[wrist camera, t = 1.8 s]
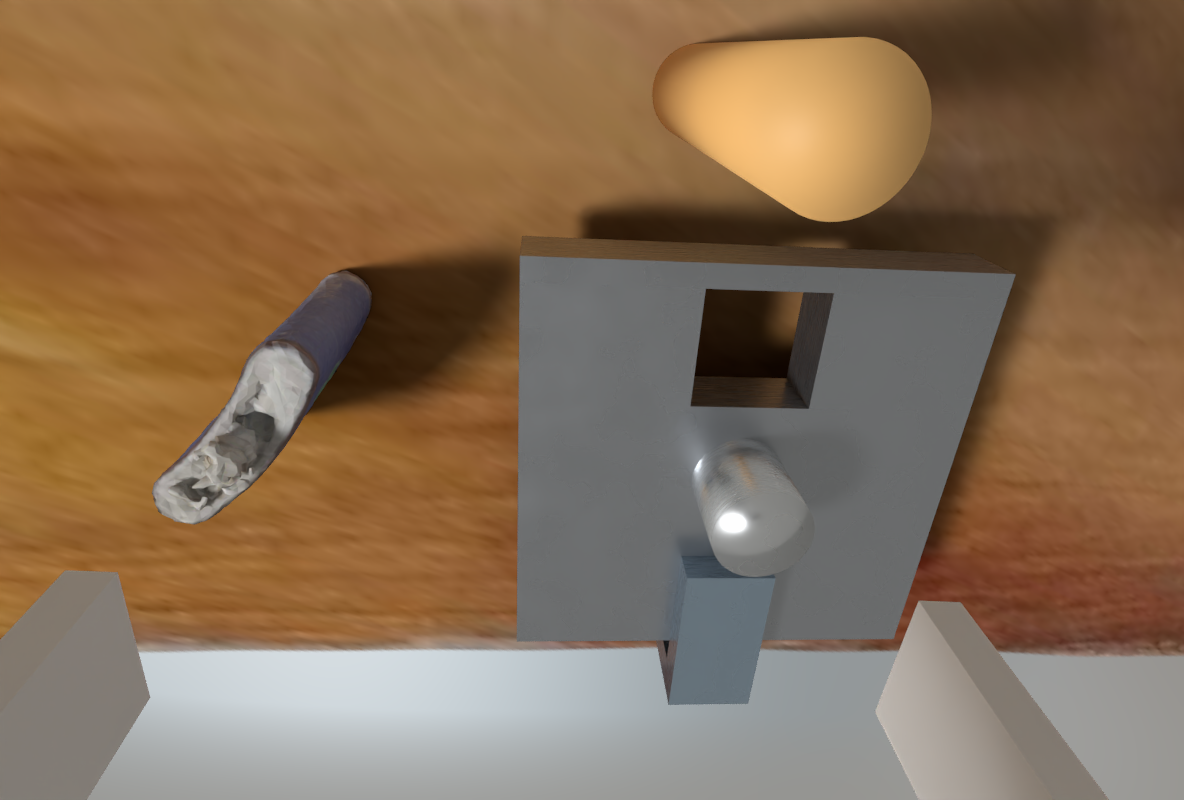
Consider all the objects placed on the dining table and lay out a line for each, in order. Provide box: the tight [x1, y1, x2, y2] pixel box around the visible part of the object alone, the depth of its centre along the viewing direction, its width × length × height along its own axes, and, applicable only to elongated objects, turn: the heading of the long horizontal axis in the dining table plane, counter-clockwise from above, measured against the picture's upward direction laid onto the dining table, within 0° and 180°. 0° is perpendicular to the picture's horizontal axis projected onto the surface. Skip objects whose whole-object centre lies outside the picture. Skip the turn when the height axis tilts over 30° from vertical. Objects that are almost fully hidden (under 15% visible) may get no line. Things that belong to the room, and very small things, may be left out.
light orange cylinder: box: [652, 37, 932, 222], centre depth 22 cm, size 4×4×16 cm
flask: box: [152, 271, 372, 524], centre depth 28 cm, size 9×3×11 cm, turn 138°
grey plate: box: [517, 236, 1016, 705], centre depth 32 cm, size 22×19×10 cm
